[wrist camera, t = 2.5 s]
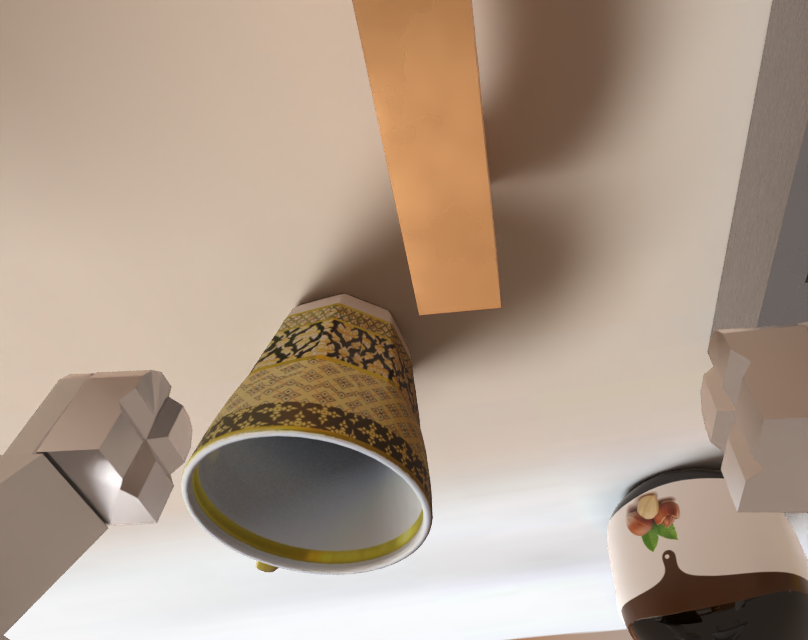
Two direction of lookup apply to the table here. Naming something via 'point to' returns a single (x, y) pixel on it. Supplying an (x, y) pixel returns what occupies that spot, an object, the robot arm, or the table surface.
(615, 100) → the table surface
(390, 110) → the wooden arch block
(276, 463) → the ceramic cup
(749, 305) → the rail
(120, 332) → the table surface
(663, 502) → the spread jar
